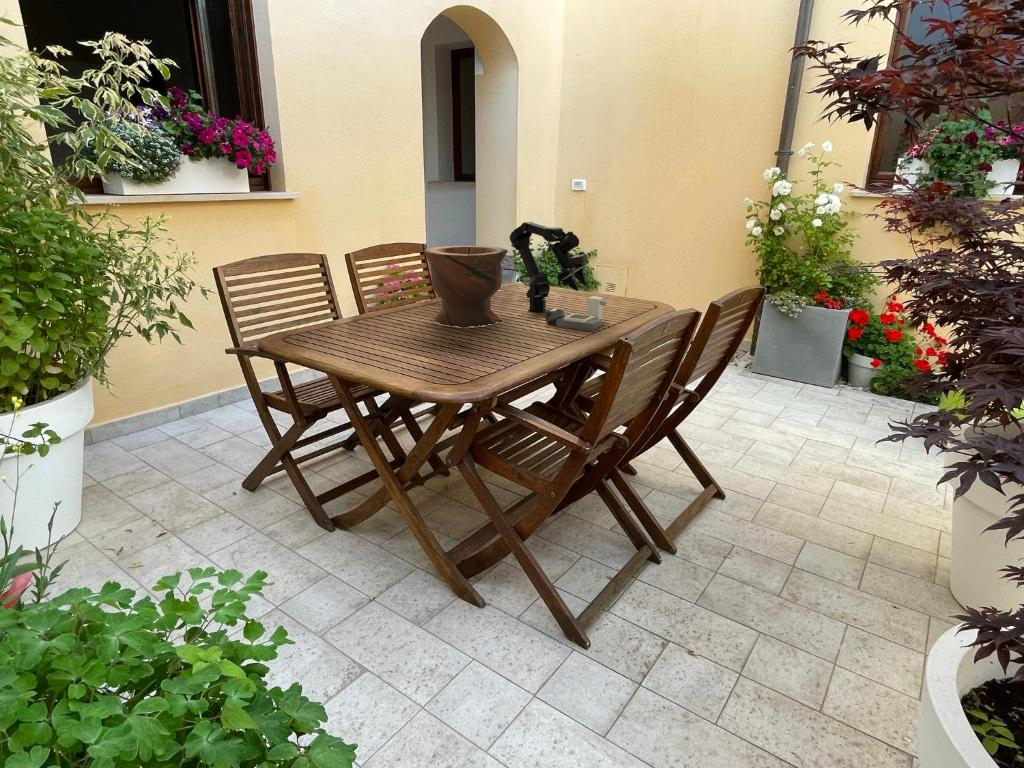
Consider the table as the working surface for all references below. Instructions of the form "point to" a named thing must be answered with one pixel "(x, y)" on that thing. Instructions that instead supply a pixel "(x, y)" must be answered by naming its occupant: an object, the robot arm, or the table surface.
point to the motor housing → (572, 320)
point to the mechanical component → (526, 282)
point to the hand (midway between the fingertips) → (581, 287)
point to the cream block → (595, 306)
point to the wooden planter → (466, 283)
